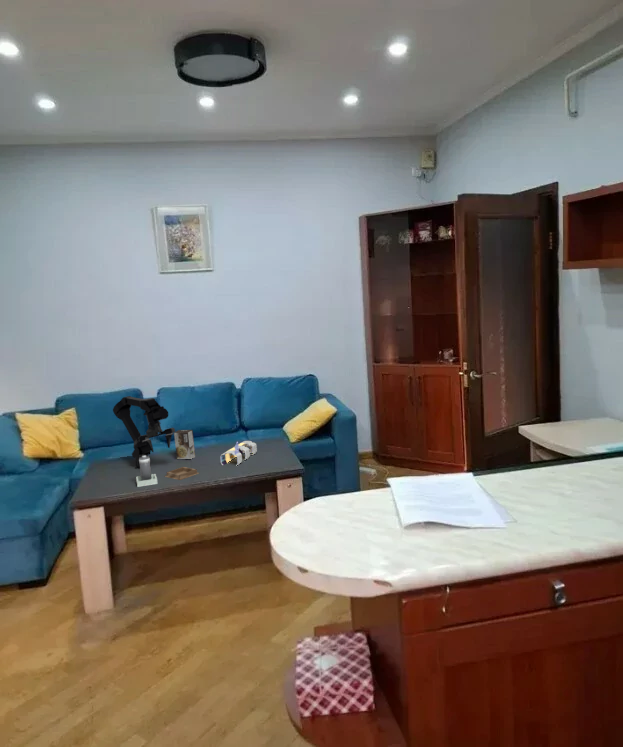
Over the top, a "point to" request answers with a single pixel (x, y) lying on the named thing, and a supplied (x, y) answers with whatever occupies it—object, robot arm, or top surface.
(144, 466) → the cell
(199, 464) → the top surface
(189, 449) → the coffee box
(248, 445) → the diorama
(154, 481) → the white square tray
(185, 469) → the brown wooden tray
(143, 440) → the robot arm
